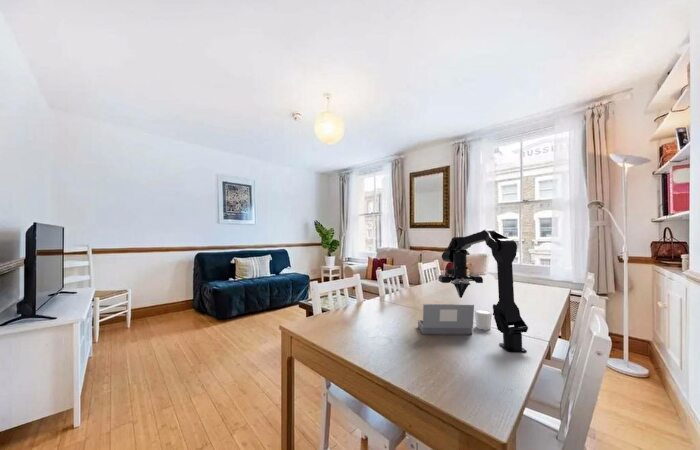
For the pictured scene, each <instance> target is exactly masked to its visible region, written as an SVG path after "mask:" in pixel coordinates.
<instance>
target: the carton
mask: <svg viewBox="0 0 700 450" xmlns="http://www.w3.org/2000/svg"><path fill="white" fill-rule="evenodd" d="M417 327H418V329H419V330H420V332H421V333H422V335H424V336H425V335H426V336H427V335H428V336H429V335H432V336H433V335H434V336H435V335H436V336H437V335H438V336H441V335H442V336H443V335H444V336H445V335H447V336H449V335H450V336H451V335H452V336H472V335H473V328H423V319H422V320H419V319H418V320H417Z"/></svg>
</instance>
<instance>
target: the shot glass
mask: <svg viewBox="0 0 700 450" xmlns="http://www.w3.org/2000/svg"><path fill="white" fill-rule="evenodd" d="M474 316H475V318H474V319H475V326H476V328H477V329H480V330H485V331H489V330H491V325H492V316H493V312H491V311H490V310H485V309H476V310H475V309H474Z"/></svg>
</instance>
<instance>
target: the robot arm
mask: <svg viewBox="0 0 700 450" xmlns="http://www.w3.org/2000/svg"><path fill="white" fill-rule="evenodd" d="M483 242H485V245H486V246H487V247H488V248H490V250H491V256H492V257H493V258H494V261H496V264H497V265H496V266H497V287H498V288H497V289H498V291H497V293H498V301H497V303H495V304H493V305H492V310H493V311H492V316H493V318H494V321H495V325H496V328H497V331H499V332H500V333H502V337H503V338H502V339H503V340H502V342H499V344H498V345H499V346H500V347H502V348H503V349H504V350H506V351H507V353H527V351H528V350H527V349H525V348H524V347H523V334H522V333H527V332H528V330H529V326H528V325H527V323H526V322H525V321H524V319H523V318H522V316H521V312H520V308H519V307H518V305H517V303H516V302H515V293H514V273H513V263H514V260H515V258H516V257H517V253H518V245H517V242H515V240H514V239H512V238H509V237H507V235H503V234H502V233H499V232H498V231H496V230H495V229H483V230H481V231H479V232H476V233H472V234H469V235H466V236H454V237H452V238H451V241H450V242H449V244H448V247H447V248H445V249H444V251H443V252H442V255H441V259H442V261H443V262H446V263H452V264H453V265H452V268H451V267H446V268H445V275H444V274H440V275H439V276H438V282H440V283H442V284H449V283H451V284H452V285H454V287H455V289H456V292H457V295H458V297H459V299H461V298H463V296H464V294H465V292H466V291H467V288H468V287H469V286H471V283H470V282H475V283H476V284H483V283H484V278H483V277H482V276H480V275H478V274H475V275H474V274H471V275H469V276H468V275H467V274H468V269H469V268H468V267H469V266H467V260H468V259H467V256H470V254H471V253H470V252H469V251H468V250H467V249H469V248H471V247H472V245H475V244H479V243H483Z"/></svg>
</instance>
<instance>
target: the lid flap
mask: <svg viewBox="0 0 700 450" xmlns="http://www.w3.org/2000/svg"><path fill="white" fill-rule="evenodd" d="M422 305H423V307H422V309H423V310H422V312H423V313H422V320H423V328H472V329H473V327H474V316H475V304H459V303H458V304H457V303H456V304H443V303H440V304H429V303H428V304H427V303H425V304H422Z"/></svg>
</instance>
